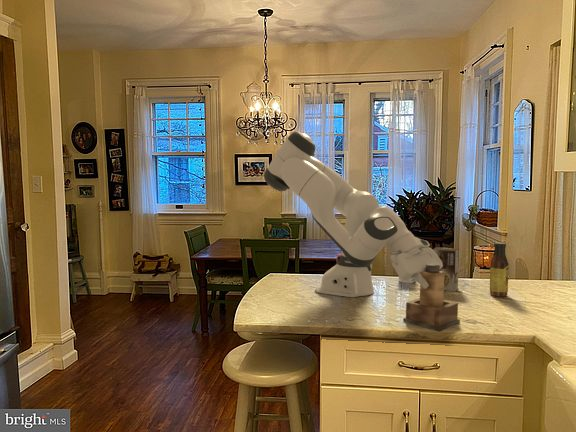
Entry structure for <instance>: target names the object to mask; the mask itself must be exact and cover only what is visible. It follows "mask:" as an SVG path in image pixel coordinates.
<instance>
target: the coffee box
mask: <svg viewBox="0 0 576 432" xmlns="http://www.w3.org/2000/svg"><path fill="white" fill-rule="evenodd" d="M432 250H433V251H434V252H435V253H436V254H437V256H438V257H439V258H440V260H441V261H442V264H443V267H442V268H441V269H440V271H443V272H444V291H447V292H456V291H457V290H458V289H459V264H460V263H459V261H460V259H459V254H460V253H459V251H460V249H459V248H451V247H450V248H449V247H434V248H433V249H432Z"/></svg>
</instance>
